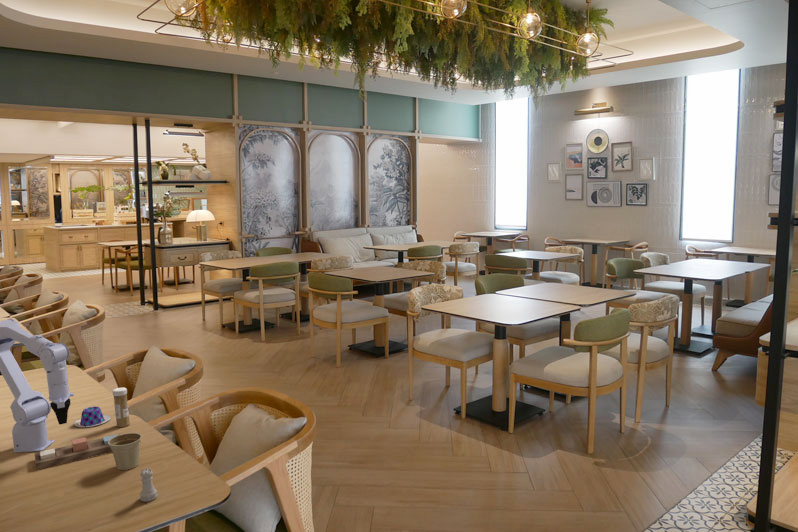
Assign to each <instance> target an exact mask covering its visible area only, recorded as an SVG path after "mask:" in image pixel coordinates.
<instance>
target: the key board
mask: <svg viewBox="0 0 798 532" xmlns="http://www.w3.org/2000/svg"><path fill="white" fill-rule="evenodd" d="M116 435H117V436H118V435H121V434H116ZM87 447H88V449H86V450H81V451H77V452H73V447H72V444H70V445H66V446H62V447H57V448H54V449H55V455H56V456H55V457H51V458H47V459H42V460H41V457H40V451H37V452H35V453H34V462H35V470H36V471H38V470H42V469H45V468H49V467H55V466H60V465H62V464H63V463H64V464H67V462H68V463H71V461H72V462H76V461H80V459H81V460H84V458H85V459H89V458H93V457H96V455H98V456H102V455H105V453H106V454H109V453H113V452H112V449H111V448H110V445H109V444H108V445H104V443H103V437H102V438H101V437H100V438H97V439H93V440H88V441H87ZM101 454H102V455H101ZM92 456H93V457H92ZM88 457H89V458H88ZM75 460H76V461H75Z"/></svg>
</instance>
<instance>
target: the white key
mask: <svg viewBox="0 0 798 532" xmlns="http://www.w3.org/2000/svg"><path fill="white" fill-rule="evenodd" d="M55 449H56V448H50V449H47V450H46V449H44V450H43V451H39V452H40V457H41V460H42V459H47V458H51V457H55V456H56V455H55Z"/></svg>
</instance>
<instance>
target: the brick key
mask: <svg viewBox="0 0 798 532" xmlns="http://www.w3.org/2000/svg"><path fill="white" fill-rule="evenodd" d="M87 442H88V441H87V438H86V436H85V437H80V438H75V439H72V440H71V445H72V447H73V452H77V451H81V450H86V449H88V447H87Z"/></svg>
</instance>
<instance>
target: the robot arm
mask: <svg viewBox="0 0 798 532" xmlns="http://www.w3.org/2000/svg"><path fill="white" fill-rule="evenodd" d="M16 342H18V343H20V344H22V345H24V346H25V348H26V350H27V351H28V352H30V353H31V354H33V355H35V356H37V357H38V358H39V360H40V362H41V364H42V365H43V369H44V371H46V372H45V373H46V379H47V380H46V382H47V388H48V399H47V398H46V397H45V396H44V395H43V392H41V391H38V390H37V391H36V390H34V389H32V387H31V385H30V383H29V381H28V380H27V378H26V377H25V375H24V373H23V371H22V369H21V367H20V366H19V363H18V362H17V361H16V359H15V357H14V355H13V353H12V351H11V348H12V347H13V345H14V344H15V343H16ZM69 357H70V350H69V348H68V346H67V345H66V344H64V342H60V343H59V342H58V343H54V342H53V341H51V340H49V339H47V338H45V337H43V335H42V334H35V335H33V334H31V333H29V332H28V331H27V330H25V329H24V328H22V327H21V325H20V323H19V321H17V320H16V319H14V318H7V319H5V320H0V374H1V376H2V377H3V379H4V381H5V383H6V384H7V386H8V388H9V390H10V392H11V394H12V395H13V397H14V399H13V400H12V403H11V404H10V406H9V408H10V410H11V413H12V418H13V420H14V422H15V423H14V424H13V427H12V431H11V433H12V443H13V449H14V450H12V453H26V452H29V453H30V452H40V451H45V450H46V449H47V448H48V447H49V446H50V445H52V444H53V443H54V442H55V440H54V439H49V436H48V435H49V433H48V427H47V419H48V418H49V417H48V416H49V414H50V413H51V410H53V412H54V414H55V416H56V420H57V422H58V425H59V426H60V425H65V424H67V423H68V414H69V408H70V406H71V399H70V398H71V397H74V396H75V395H74V394H75V393H74V392H70V385H69V376H68V368H67V367H68V366H67V360H69Z"/></svg>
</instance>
